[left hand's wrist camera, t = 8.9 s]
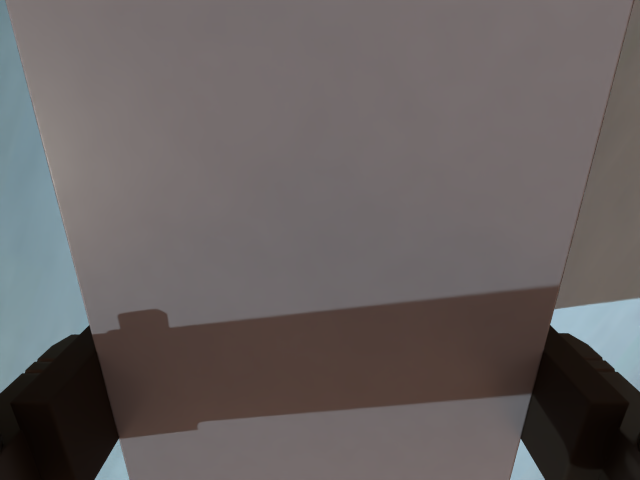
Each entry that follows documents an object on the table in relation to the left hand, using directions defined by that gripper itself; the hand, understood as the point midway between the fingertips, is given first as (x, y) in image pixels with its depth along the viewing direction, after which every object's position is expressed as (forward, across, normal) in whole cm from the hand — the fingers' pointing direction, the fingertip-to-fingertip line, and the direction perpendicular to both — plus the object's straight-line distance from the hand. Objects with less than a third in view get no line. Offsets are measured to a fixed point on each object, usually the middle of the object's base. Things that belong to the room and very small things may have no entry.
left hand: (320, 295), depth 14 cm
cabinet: (+5, 0, -3) cm, 6 cm away
